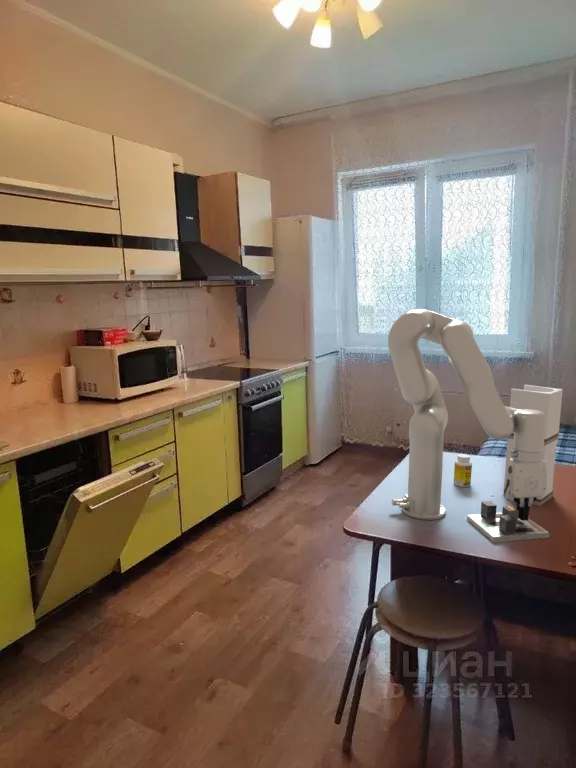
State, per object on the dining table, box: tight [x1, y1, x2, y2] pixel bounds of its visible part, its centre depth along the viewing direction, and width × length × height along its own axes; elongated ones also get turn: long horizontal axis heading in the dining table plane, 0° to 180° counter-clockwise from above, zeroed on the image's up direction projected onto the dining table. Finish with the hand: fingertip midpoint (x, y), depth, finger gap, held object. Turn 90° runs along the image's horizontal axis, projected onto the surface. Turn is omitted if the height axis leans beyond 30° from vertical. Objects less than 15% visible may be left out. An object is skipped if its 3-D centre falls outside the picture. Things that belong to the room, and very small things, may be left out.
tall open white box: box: [502, 384, 563, 507], centre depth 166 cm, size 11×11×35 cm
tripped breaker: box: [502, 505, 519, 524], centre depth 145 cm, size 3×3×4 cm
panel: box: [466, 500, 550, 543], centre depth 145 cm, size 16×14×6 cm
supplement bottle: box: [453, 453, 473, 488], centre depth 178 cm, size 6×6×10 cm
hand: (522, 518), depth 146 cm, fingers closed
